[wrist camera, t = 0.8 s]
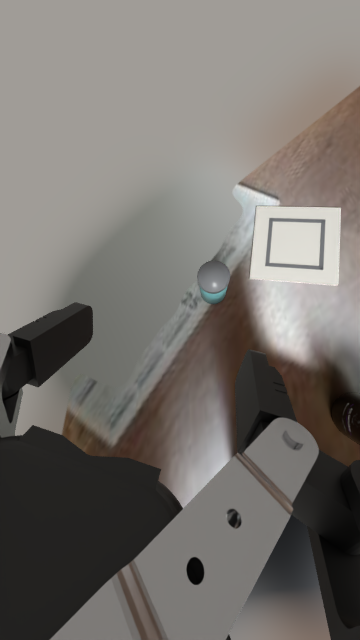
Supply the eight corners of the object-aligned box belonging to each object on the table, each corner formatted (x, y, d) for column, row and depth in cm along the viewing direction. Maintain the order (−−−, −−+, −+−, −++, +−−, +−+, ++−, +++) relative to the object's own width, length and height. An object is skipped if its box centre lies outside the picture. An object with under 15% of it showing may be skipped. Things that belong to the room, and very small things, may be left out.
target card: (339, 209, 37) (341, 207, 36) (336, 285, 35) (338, 284, 34) (256, 207, 39) (256, 205, 39) (249, 278, 37) (249, 277, 37)
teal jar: (227, 281, 38) (231, 261, 30) (224, 305, 37) (228, 292, 29) (202, 279, 38) (199, 259, 31) (199, 303, 38) (195, 289, 30)
